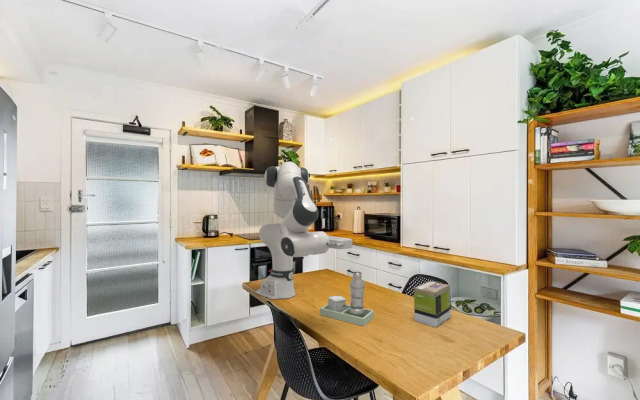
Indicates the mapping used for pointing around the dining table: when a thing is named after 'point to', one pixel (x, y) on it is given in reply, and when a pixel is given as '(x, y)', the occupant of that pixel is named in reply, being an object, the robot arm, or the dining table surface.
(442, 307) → the tea box
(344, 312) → the tray
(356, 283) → the plastic bottle
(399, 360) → the dining table surface
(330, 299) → the skincare box
